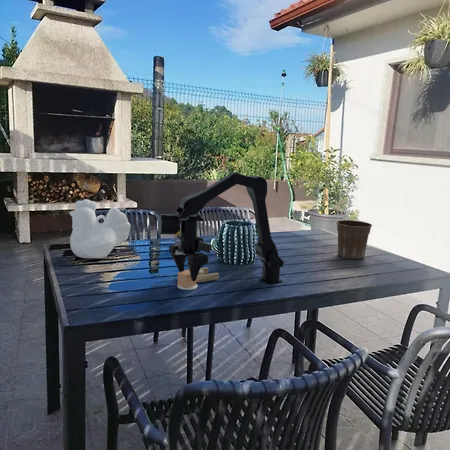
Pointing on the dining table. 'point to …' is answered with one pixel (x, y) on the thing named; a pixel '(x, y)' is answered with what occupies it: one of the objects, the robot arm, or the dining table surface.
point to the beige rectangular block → (200, 272)
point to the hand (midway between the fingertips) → (187, 277)
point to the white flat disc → (187, 288)
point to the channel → (206, 276)
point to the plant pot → (352, 238)
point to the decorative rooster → (96, 230)
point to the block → (185, 279)
